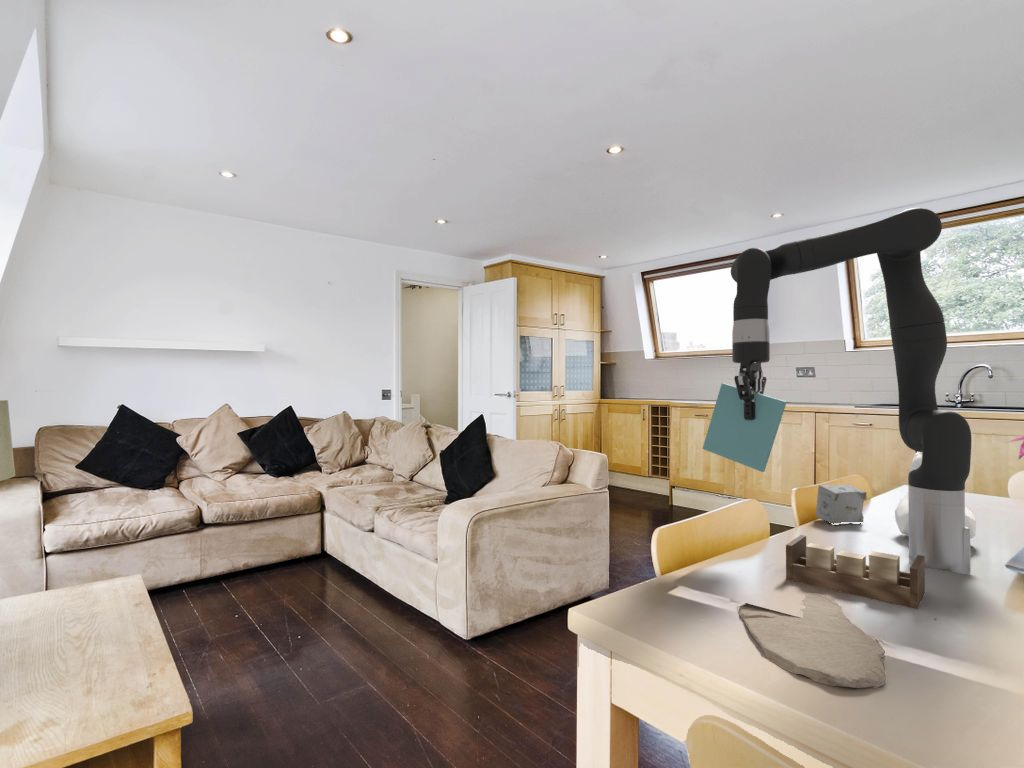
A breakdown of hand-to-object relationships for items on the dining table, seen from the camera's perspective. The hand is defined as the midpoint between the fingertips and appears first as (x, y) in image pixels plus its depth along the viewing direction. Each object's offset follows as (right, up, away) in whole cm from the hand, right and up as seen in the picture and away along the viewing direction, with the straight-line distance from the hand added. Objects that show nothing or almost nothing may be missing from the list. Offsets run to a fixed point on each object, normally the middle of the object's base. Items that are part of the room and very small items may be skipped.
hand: (751, 419), depth 118 cm
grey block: (+40, -32, +33) cm, 61 cm away
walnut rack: (+10, -31, -20) cm, 38 cm away
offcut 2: (+12, -29, -25) cm, 40 cm away
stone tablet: (-8, -31, -37) cm, 49 cm away
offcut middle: (+9, -29, -21) cm, 37 cm away
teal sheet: (-3, -9, +3) cm, 10 cm away
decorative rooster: (+54, -32, +17) cm, 65 cm away
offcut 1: (+5, -29, -18) cm, 35 cm away
